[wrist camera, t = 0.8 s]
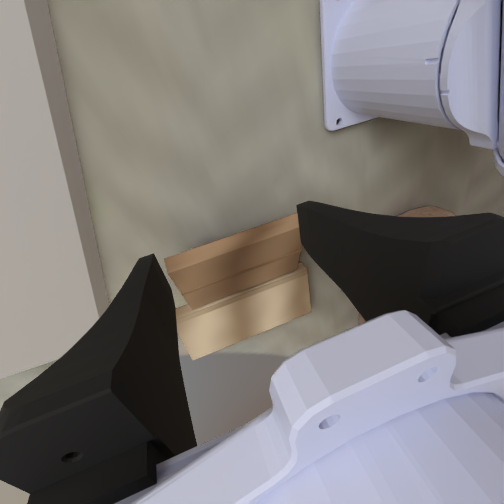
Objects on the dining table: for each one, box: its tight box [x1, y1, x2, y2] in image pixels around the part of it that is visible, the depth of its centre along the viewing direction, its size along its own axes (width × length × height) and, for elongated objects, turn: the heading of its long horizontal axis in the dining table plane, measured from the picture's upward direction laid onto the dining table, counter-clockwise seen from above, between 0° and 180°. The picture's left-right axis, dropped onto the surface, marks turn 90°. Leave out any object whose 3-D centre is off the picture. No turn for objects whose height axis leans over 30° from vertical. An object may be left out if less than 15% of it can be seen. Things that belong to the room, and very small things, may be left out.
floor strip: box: [176, 262, 311, 360], centre depth 27 cm, size 13×6×1 cm, turn 102°
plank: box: [164, 213, 302, 309], centre depth 22 cm, size 10×7×1 cm
